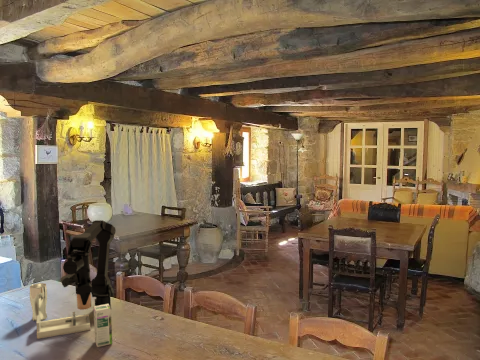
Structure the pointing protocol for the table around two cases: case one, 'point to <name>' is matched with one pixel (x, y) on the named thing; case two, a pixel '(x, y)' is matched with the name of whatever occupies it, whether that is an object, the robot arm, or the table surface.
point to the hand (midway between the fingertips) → (84, 302)
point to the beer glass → (38, 300)
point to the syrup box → (102, 325)
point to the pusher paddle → (73, 320)
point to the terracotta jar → (80, 304)
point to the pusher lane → (61, 326)
